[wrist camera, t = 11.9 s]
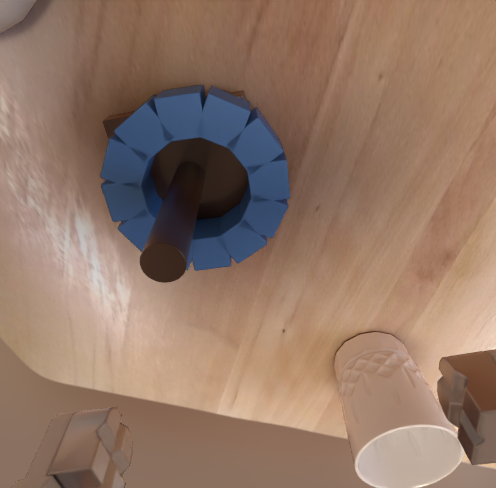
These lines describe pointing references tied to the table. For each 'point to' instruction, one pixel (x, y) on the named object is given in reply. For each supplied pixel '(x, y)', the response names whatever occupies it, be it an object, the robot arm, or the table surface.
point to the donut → (13, 12)
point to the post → (186, 197)
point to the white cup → (393, 415)
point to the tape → (215, 130)
